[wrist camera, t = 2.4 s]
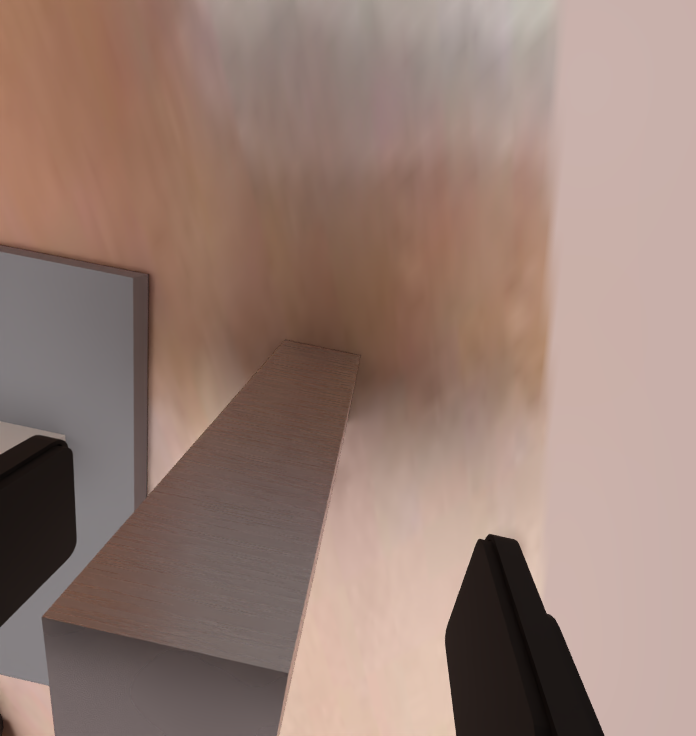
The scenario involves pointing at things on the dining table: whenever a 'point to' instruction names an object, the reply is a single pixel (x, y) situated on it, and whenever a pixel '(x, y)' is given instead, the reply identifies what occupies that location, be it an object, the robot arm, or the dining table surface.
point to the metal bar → (209, 570)
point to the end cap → (1, 725)
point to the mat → (74, 406)
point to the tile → (20, 435)
